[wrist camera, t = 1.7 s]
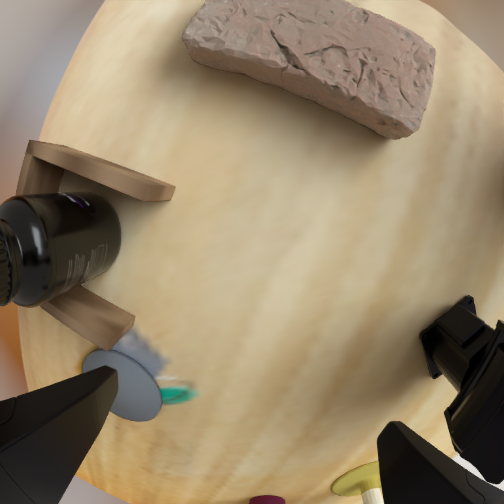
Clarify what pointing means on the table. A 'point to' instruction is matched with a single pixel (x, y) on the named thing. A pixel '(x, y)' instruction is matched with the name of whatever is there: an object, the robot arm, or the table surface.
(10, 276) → the supplement bottle
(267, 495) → the cup
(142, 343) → the table surface
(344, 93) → the brick
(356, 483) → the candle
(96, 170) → the wooden u-shaped frame
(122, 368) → the coaster
